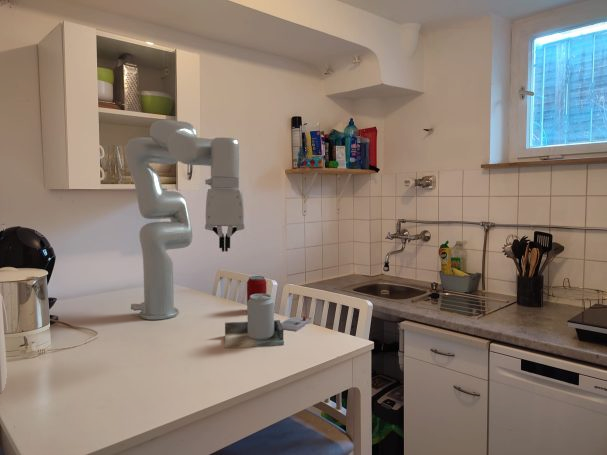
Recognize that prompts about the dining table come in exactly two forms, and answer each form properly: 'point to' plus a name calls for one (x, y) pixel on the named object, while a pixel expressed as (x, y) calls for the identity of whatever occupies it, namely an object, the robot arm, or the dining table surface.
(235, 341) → the grey green tray
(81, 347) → the dining table surface
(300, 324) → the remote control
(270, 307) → the can
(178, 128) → the robot arm
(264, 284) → the beverage can
